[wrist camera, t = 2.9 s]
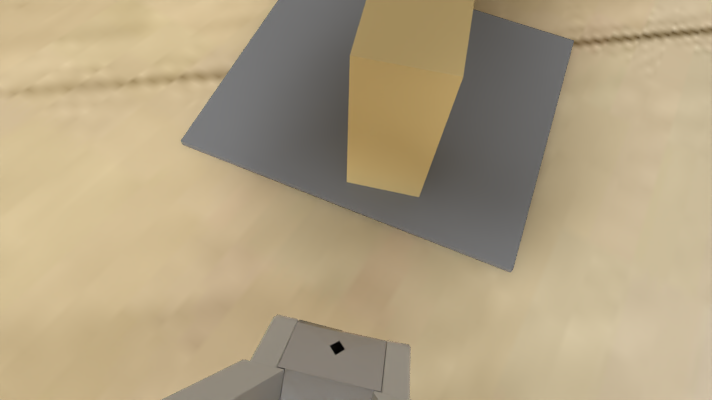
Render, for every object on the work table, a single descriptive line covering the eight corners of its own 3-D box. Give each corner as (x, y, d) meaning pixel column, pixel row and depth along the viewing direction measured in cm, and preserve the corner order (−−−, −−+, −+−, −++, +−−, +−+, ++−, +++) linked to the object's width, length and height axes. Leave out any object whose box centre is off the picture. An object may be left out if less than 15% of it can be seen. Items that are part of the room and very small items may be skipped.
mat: (183, 144, 32) (180, 140, 31) (307, -38, 40) (307, -43, 40) (510, 272, 29) (512, 269, 28) (571, 45, 37) (573, 40, 37)
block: (346, 182, 30) (349, 55, 20) (361, 122, 32) (372, -22, 22) (418, 197, 30) (463, 77, 19) (429, 136, 32) (475, -4, 21)
